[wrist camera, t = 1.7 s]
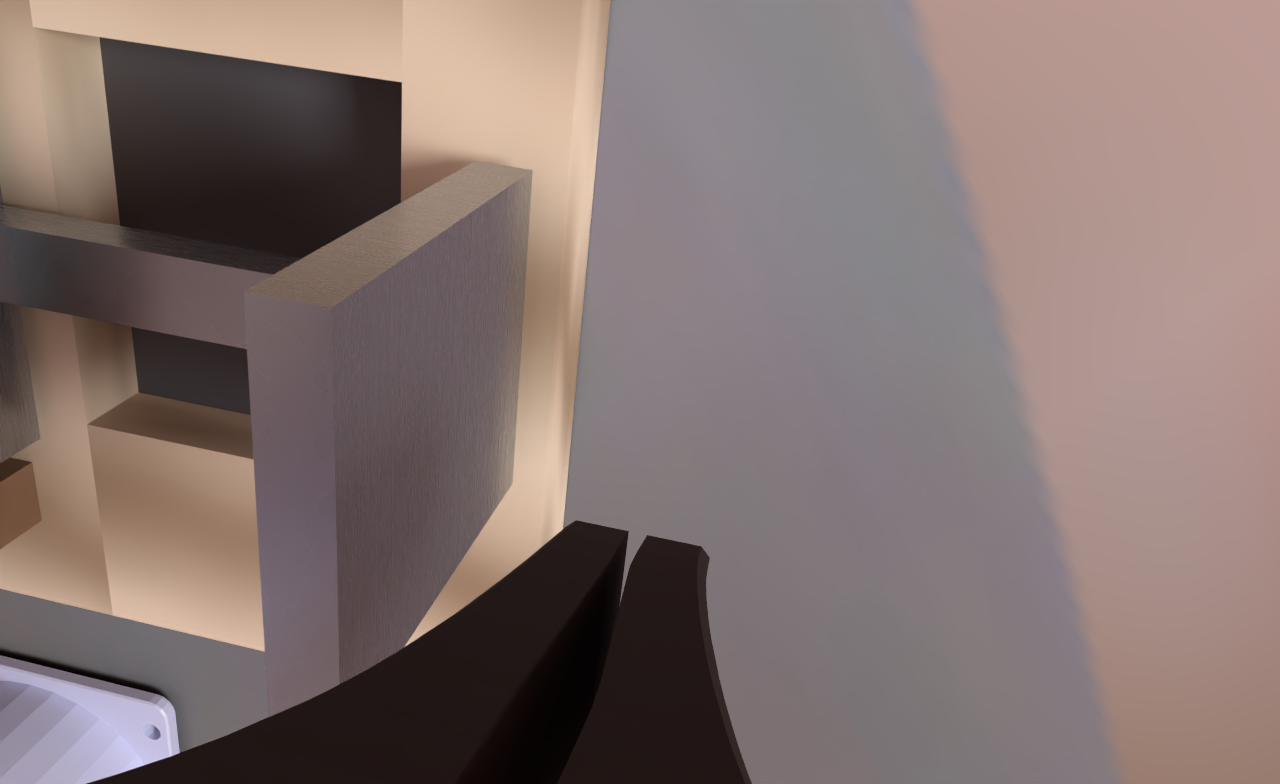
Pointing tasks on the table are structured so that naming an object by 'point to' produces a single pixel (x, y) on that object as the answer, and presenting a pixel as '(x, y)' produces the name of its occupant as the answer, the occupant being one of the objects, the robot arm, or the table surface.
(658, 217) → the table surface
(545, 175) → the deck
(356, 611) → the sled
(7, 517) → the tunnel
